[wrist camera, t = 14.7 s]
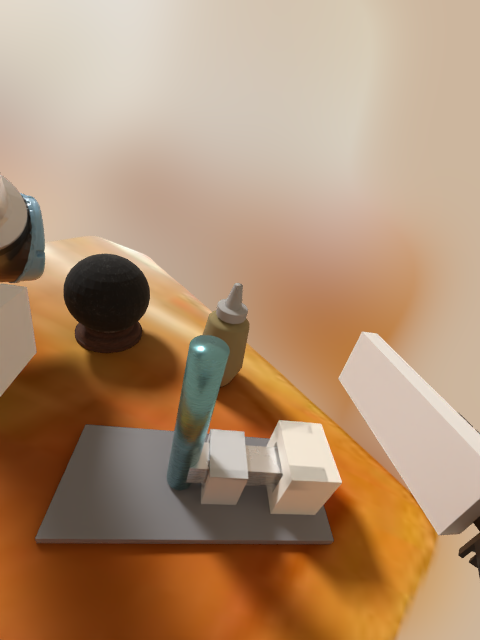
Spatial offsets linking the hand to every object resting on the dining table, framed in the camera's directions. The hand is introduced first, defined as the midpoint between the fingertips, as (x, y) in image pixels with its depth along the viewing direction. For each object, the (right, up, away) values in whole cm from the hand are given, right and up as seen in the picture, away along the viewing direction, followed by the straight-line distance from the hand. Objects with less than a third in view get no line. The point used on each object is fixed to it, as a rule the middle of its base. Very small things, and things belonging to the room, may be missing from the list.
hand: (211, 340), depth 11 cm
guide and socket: (-3, -19, +22) cm, 30 cm away
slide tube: (0, -18, +22) cm, 29 cm away
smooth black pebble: (-23, -2, +41) cm, 47 cm away
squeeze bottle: (-3, -9, +38) cm, 39 cm away
